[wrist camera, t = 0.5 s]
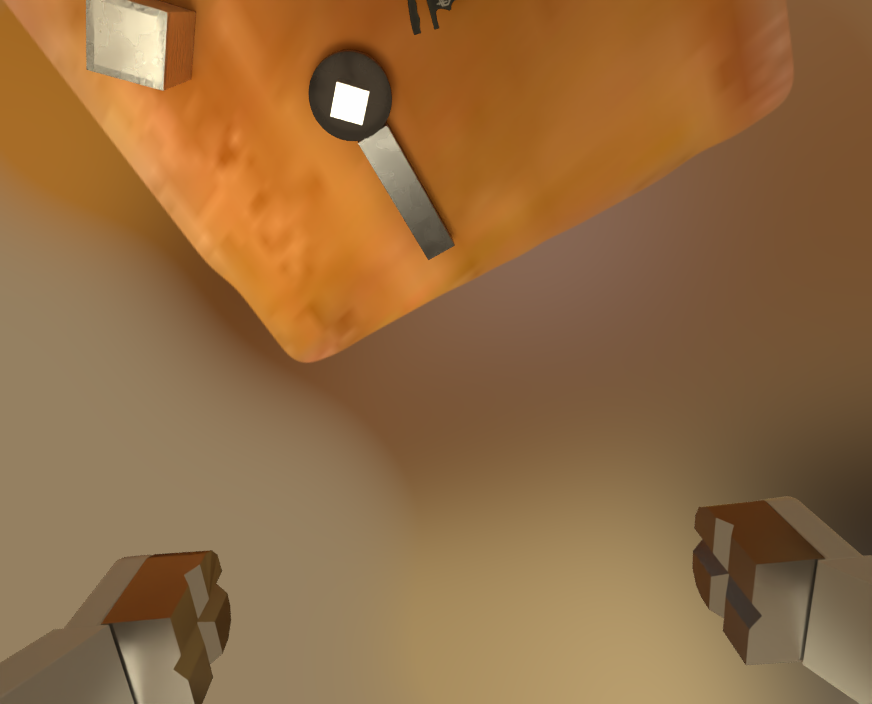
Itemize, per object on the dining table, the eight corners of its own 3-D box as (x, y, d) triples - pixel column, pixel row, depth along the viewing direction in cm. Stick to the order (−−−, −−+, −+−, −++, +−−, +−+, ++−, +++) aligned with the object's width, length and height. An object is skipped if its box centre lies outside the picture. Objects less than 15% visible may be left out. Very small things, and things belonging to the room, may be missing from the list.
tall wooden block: (127, -10, 46) (85, -13, 39) (195, 11, 47) (167, 12, 40) (125, 60, 48) (86, 69, 41) (191, 79, 49) (163, 90, 42)
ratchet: (295, 77, 50) (286, 85, 45) (363, 32, 49) (363, 36, 43) (409, 260, 60) (414, 286, 55) (468, 227, 59) (479, 250, 53)
